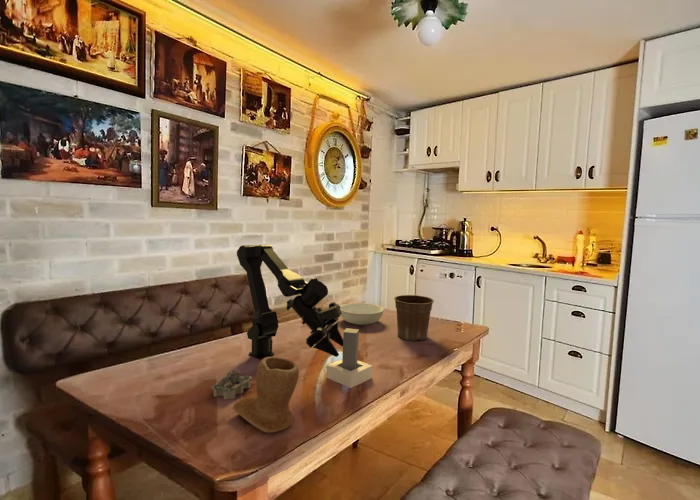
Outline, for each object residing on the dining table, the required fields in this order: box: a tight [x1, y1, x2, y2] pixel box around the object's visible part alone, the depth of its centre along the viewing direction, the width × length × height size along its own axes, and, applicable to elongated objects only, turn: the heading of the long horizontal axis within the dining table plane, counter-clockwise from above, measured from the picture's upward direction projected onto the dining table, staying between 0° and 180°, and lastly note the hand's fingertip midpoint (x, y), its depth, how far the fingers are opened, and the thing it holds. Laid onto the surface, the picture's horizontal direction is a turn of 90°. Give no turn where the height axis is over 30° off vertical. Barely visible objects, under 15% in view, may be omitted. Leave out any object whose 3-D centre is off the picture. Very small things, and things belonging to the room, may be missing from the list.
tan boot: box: [232, 356, 300, 433], centre depth 94 cm, size 15×12×15 cm
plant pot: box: [393, 294, 435, 342], centre depth 163 cm, size 16×16×16 cm
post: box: [342, 327, 360, 371], centre depth 120 cm, size 4×4×15 cm
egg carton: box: [210, 369, 253, 400], centre depth 109 cm, size 11×8×4 cm
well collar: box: [325, 359, 373, 389], centre depth 120 cm, size 10×10×4 cm
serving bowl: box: [339, 302, 384, 326], centre depth 182 cm, size 21×21×7 cm
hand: (341, 350), depth 120 cm, fingers open, 9 cm apart
